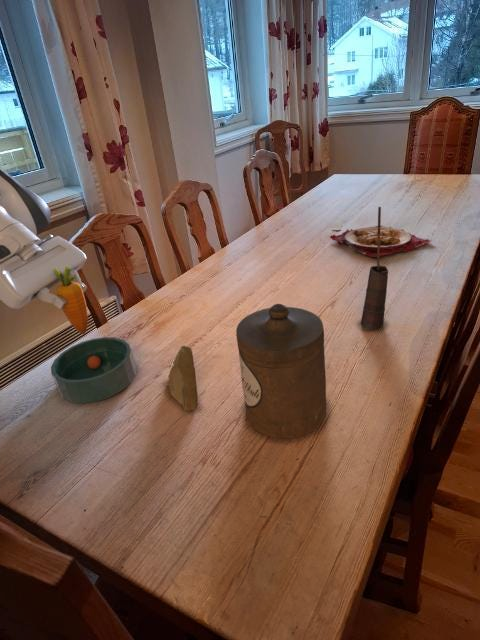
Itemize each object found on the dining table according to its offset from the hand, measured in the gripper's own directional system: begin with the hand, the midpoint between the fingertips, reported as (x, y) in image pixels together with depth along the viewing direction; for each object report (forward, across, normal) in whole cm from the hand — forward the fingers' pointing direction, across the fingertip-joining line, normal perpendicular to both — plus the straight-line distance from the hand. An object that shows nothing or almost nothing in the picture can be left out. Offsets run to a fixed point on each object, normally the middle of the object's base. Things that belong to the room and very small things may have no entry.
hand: (74, 298), depth 84 cm
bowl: (+14, 0, -15) cm, 20 cm away
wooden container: (+44, +1, +15) cm, 47 cm away
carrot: (+6, 0, -6) cm, 9 cm away
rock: (+29, +1, 0) cm, 29 cm away
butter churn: (+54, -31, +25) cm, 67 cm away
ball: (+10, -3, -16) cm, 19 cm away
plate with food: (+53, -89, +23) cm, 106 cm away
